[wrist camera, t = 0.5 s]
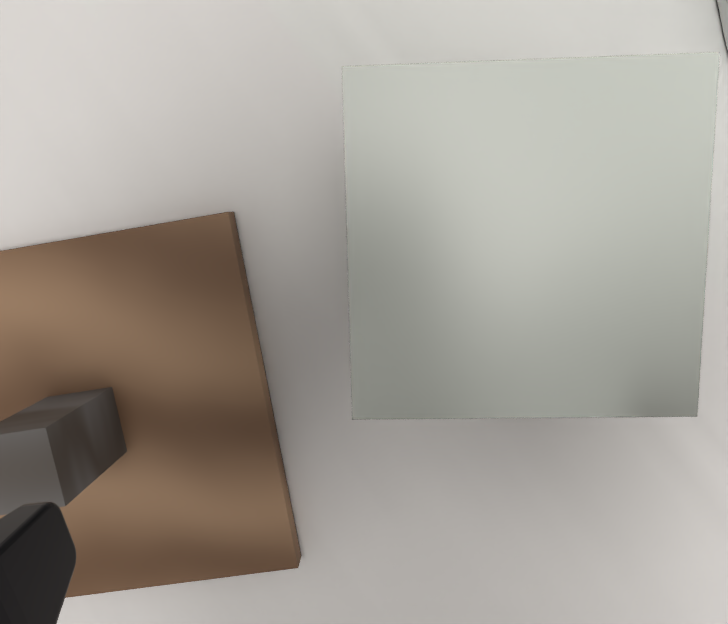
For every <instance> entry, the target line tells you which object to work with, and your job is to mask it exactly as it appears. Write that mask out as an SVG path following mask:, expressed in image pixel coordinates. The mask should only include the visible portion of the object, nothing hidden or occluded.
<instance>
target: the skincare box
mask: <svg viewBox="0 0 728 624" xmlns="http://www.w3.org/2000/svg"><path fill="white" fill-rule="evenodd" d="M717 2H718V7H719V12H720V17H721V22H722V27H723V33H724V37H725V41H726V46H727V50H728V0H717Z"/></svg>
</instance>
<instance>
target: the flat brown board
mask: <svg viewBox="0 0 728 624" xmlns="http://www.w3.org/2000/svg"><path fill="white" fill-rule="evenodd" d="M40 502H53V503H55V504H57V505H58V506H59V507H60V509H61V511H62V514H63V517H64V519H65V522H66V524H67V527H68V529H69V532H70V535H71V537H72V540H73V542H74V545H75V548H76V564H75V568H74V572H73V575H72V578H71V581H70V584H69V587H68V590H67V593H66V596H65V598H66V597H74V596H82V595H90V594H98V593H105V592H113V591H121V590H129V589H137V588H145V587H152V586H160V585H168V584H176V583H184V582H191V581H199V580H207V579H215V578H223V577H230V576H238V575H246V574H254V573H262V572H270V571H277V570H285V569H293V568H298V567H299V563H300V559H301V553H300V548H299V543H298V538H297V533H296V528H295V523H294V517H293V512H292V507H291V502H290V497H289V492H288V487H287V482H286V477H285V471H284V466H283V461H282V456H281V451H280V446H279V441H278V436H277V431H276V425H275V420H274V415H273V410H272V405H271V400H270V395H269V390H268V384H267V379H266V374H265V369H264V364H263V359H262V354H261V349H260V344H259V338H258V333H257V328H256V323H255V318H254V313H253V308H252V303H251V298H250V292H249V287H248V282H247V277H246V272H245V267H244V262H243V257H242V252H241V246H240V241H239V236H238V231H237V226H236V221H235V216H234V212H225V213H219V214H213V215H208V216H202V217H196V218H190V219H184V220H179V221H173V222H167V223H161V224H155V225H150V226H144V227H138V228H132V229H126V230H120V231H115V232H109V233H103V234H97V235H91V236H86V237H80V238H74V239H68V240H62V241H56V242H51V243H45V244H39V245H33V246H27V247H22V248H16V249H10V250H4V251H0V518H2V517H3V516H5V515H7V514H8V513H10V512H11V511H13V510H15V509H16V508H18V507H20V506H22V505H24V504H30V503H40Z"/></svg>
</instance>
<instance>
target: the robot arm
mask: <svg viewBox="0 0 728 624" xmlns="http://www.w3.org/2000/svg"><path fill="white" fill-rule="evenodd" d="M75 564H76V548H75V545H74V542H73V540H72V537H71V535H70V532H69V529H68V527H67V524H66V522H65V519H64V517H63V514H62V511H61V509H60V507H59V506H58V505H57V504H55V503H53V502H40V503H30V504H24V505H22V506H20V507H18V508H16V509H15V510H13V511H11V512H10V513H8V514H7V515H5V516H3V517H2V518H0V624H56V623H57V620H58V617H59V614H60V611H61V608H62V605H63V602H64V599H65V596H66V593H67V590H68V587H69V584H70V581H71V578H72V575H73V572H74V568H75Z"/></svg>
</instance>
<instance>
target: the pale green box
mask: <svg viewBox="0 0 728 624" xmlns="http://www.w3.org/2000/svg"><path fill="white" fill-rule="evenodd" d="M719 58H720V52H706V53H680V54H654V55H627V56H601V57H575V58H549V59H522V60H496V61H470V62H444V63H417V64H391V65H365V66H342V92H343V126H344V160H345V193H346V227H347V261H348V295H349V329H350V363H351V397H352V420H361V419H473V418H586V417H697V413H698V397H699V381H700V365H701V348H702V332H703V316H704V300H705V284H706V268H707V252H708V235H709V219H710V203H711V187H712V171H713V155H714V139H715V123H716V106H717V90H718V74H719Z"/></svg>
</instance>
